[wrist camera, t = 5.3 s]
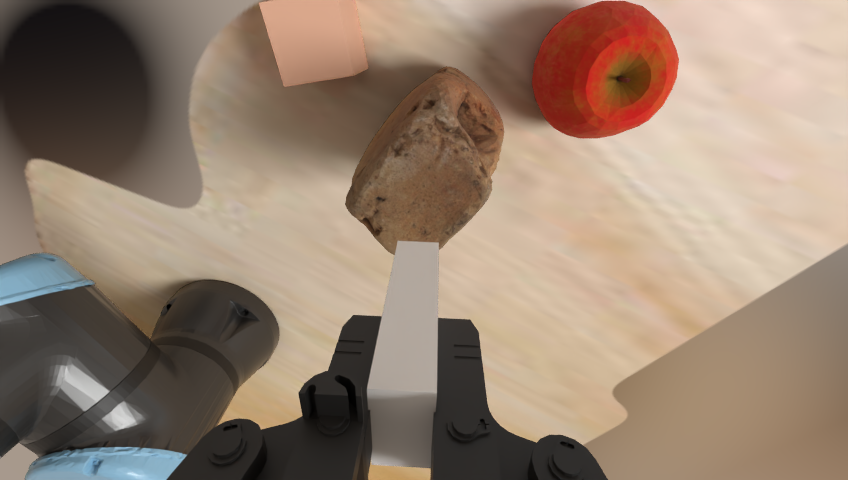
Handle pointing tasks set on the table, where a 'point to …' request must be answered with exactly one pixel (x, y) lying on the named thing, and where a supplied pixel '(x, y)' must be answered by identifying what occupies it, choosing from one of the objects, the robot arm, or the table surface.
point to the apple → (604, 70)
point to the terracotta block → (315, 39)
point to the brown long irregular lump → (429, 163)
